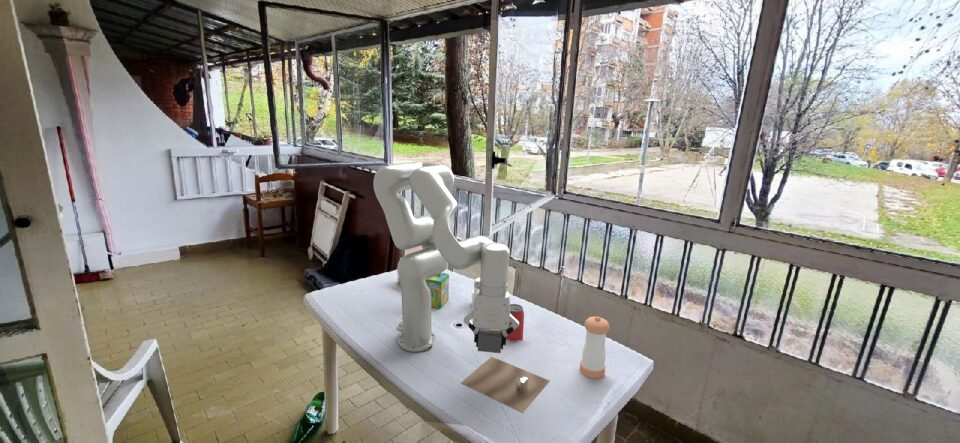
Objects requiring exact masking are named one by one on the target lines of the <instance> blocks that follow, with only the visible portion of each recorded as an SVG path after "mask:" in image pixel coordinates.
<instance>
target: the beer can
mask: <svg viewBox="0 0 960 443" xmlns="http://www.w3.org/2000/svg"><path fill="white" fill-rule="evenodd" d="M524 312H525V311H524V308H523V306H522V305H521V304H517V303H510V314H511V315H512V316H513V317H514V318H515V319H516V320H517V321H518V322H519V326H518V327H517V328H516V329H514V330H513V331H512V332H511V333H510V334H508V336H507V337H506V340H508V341H513V342H515V341H520V342H521V341H523V339H524V326H525V323H524V322H525V313H524ZM510 325H512V323H511V322H510V323H509V326H510Z"/></svg>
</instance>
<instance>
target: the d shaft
mask: <svg viewBox="0 0 960 443" xmlns="http://www.w3.org/2000/svg"><path fill="white" fill-rule="evenodd" d="M527 385H528V378H526V377H524V376H518V377H517V385H516V389H517V390H518V391H519V392H522V393H523V392H524V391H525V390H526V389H527Z"/></svg>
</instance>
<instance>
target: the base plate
mask: <svg viewBox="0 0 960 443" xmlns="http://www.w3.org/2000/svg"><path fill="white" fill-rule="evenodd" d="M518 376H524V377H526V378H528V385H527V389H526V390H525V391H524V392H523V393H522V392H519V391H518V390H517V389H516V385H517V377H518ZM550 382H551V380H549V379H547V378H544V377H541V376H539V375H537V374H535V373H532V372H529V371H528V370H525V369H522V368H520V367H517V366H516V365H513V364H510V363H508V362H506V361H503V360H500V359H498V358H497V357H494V356H491V357H489V358H488V359H487V360H486V361H484V363H482V364H480V365H479V367H478V368H477V369H475V370H474V371H473V372H471V373H470V374H469V375H468V376H467V377H466V378H465V379H463V380H462V381H460V384H462V385H463V386H466V387H468V388H469V389H472V390H474V391H477V392H478V393H481V394H482V395H485V396H487V397H489V398H491V399H492V400H495V401H497V402H499V403H501V404H502V405H505V406H506V407H509V408H512V409H514V410H516V411H518V412H520V413H522V414H523V413H524V412H525V411H526V410H527V409H528V407H529V406H531V403H533V402H534V400H535V399H536V398H537V397H538V396H539V395H540V393H541V392H543V390H544V389H545V388H546V386H548V384H549V383H550Z"/></svg>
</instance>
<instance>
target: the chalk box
mask: <svg viewBox="0 0 960 443" xmlns="http://www.w3.org/2000/svg"><path fill="white" fill-rule="evenodd" d="M426 284H427V286H428V287H429V289H430V291H431V308H436V309H441V308H442V307H443V306H444V305H445V304H446V303H447V301H449V292H450V289H449V288H450V274H449V273H446V272H442V273H440V274H438V275H435V276H433V277H430V278H428V279H426Z"/></svg>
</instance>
